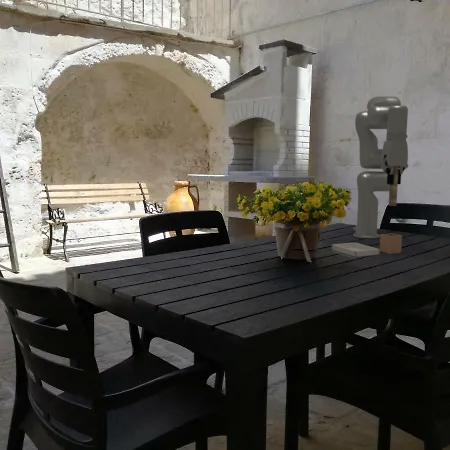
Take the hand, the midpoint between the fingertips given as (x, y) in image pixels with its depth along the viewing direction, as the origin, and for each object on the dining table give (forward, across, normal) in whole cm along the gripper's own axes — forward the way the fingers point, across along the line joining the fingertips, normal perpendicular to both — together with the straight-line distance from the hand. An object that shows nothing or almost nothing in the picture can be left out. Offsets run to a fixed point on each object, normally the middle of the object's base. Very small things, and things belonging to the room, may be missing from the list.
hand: (393, 183), depth 207 cm
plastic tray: (+29, +13, -5) cm, 32 cm away
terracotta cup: (+29, 0, +1) cm, 29 cm away
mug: (+29, +26, -20) cm, 44 cm away
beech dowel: (+9, 0, 0) cm, 9 cm away
